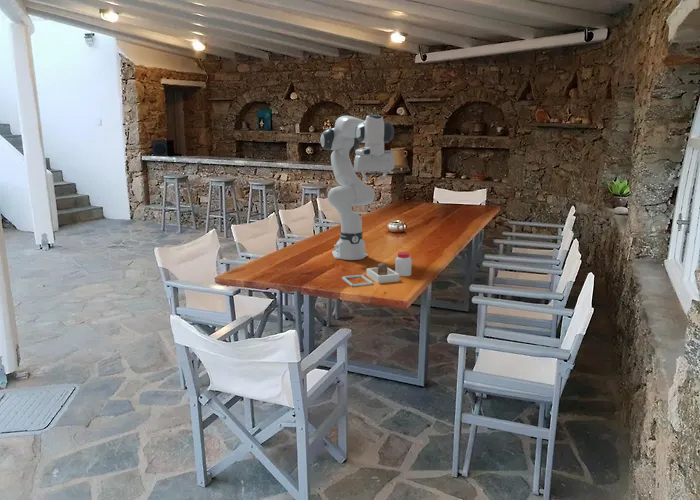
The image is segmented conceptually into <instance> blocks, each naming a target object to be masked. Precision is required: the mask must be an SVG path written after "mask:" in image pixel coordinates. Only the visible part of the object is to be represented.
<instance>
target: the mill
mask: <svg viewBox="0 0 700 500" xmlns="http://www.w3.org/2000/svg"><path fill="white" fill-rule="evenodd" d="M377 267H378V275H387V267H388V263H383V262H382V263H381V262H380V263H377Z"/></svg>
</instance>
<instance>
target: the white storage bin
mask: <svg viewBox="0 0 700 500" xmlns="http://www.w3.org/2000/svg"><path fill="white" fill-rule="evenodd" d="M365 270H366V271H365V272H366V276H367V277H368V278H370V280H373V281H374V283H375V282H376V283H377V284H384V283H385V284H386V283H393V282H400V276H399V274H398V273H396V272H395V270H393V269H391V268H389V266H387V275H378V266H377V267H369V268H366V269H365Z"/></svg>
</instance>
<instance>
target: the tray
mask: <svg viewBox="0 0 700 500" xmlns="http://www.w3.org/2000/svg"><path fill="white" fill-rule="evenodd" d="M355 278H362V279H363V280H364V281H366V282H363V283H361V282H360V283H353V282H351V281H350V280H348V279H355ZM341 279H342V280H343V281H344V282H345V283H347V284H348V285H349V286H351V288H353V287H363V286H373V285H374V282H373V281H372V280H371V279H369V278H367V277H366V276H365V275H363V274H354V275H345V276H341Z"/></svg>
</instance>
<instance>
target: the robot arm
mask: <svg viewBox="0 0 700 500" xmlns="http://www.w3.org/2000/svg"><path fill="white" fill-rule="evenodd" d="M394 128H395V127H394V126H393V125H392V124H391V123H390V122H389V121H384V117H383V116H382V115H380V114H377V113H374V114H372V113H371V114H368V115H366V117H365V120H363V119H361V118H358V117H356V116H351V115H342V116H339V117H338V118H337V119H336V120H335V123H334V127H333V128H331V127H328V128H327V129H326V130H324V131H323V132H322V133H321V135H320V146H321V147H322V149H323V150H326V151H332V152H331V154H330V163H331V169H332V172H333V175H334V179H335V181H336V183H338V186H335V187H331V188H330V189H329V190H328V192H327V201H328V202H329V205H331V206H332V207H333V208H334V209H335V210H336V211H337V212H338V215H339V217H340V230H341V231H340V233H339V239H338V240H337V242H336V244H333V248H334V250H332V251H331V254H332V255H333V257H334V259H337V260H343V261H344V260H345V261H346V260H347V261H356V260H357V261H359V260H363V259H365V258H366V257H368V256H369V255H368V253H366V241H365V240H363V236H364V235H363V234H364V233H363V230H362V229H363V225H362V224H363V223H362V221H363V219H362V217H361V215H360V214H359V213H358V212H357V213H356V212H355V211H353V208H352V207H360V206H366V205H370V204H372V203H373V202H374V200H375V197H376V195H375V194H376V193H375V190H374V189H373V187H372V186H370V185H368V184H366V183H365V182H368V181H369V177H368V176H366V174H367V172H375V171H382V173H383V174H382V175H380V180H381V181H386V176H387V174H388V171H393V170H394V169H395V158H394V156H395V153H394V151H392V150H391V149H385V144H389V143H390V142H391V141H392V140H393V138H394V136H395V129H394ZM360 143H363V144H364V146H363V147H361V148H358V147H359V146H360ZM350 153H352V154H354V153H355V157H354V161H353V163H352V160H351V159H350ZM356 172H360V173H361V175H362V177H363V180H361V179H360V178H359V177H358V176H357V174H356Z"/></svg>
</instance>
